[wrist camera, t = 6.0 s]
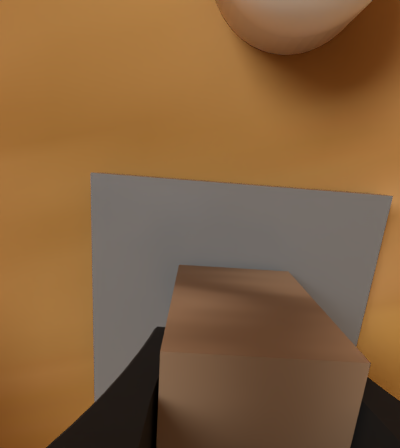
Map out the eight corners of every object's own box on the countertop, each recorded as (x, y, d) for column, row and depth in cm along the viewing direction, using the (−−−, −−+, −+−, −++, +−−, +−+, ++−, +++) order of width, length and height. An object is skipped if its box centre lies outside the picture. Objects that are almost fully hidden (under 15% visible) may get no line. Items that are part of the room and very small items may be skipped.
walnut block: (173, 359, 11) (153, 509, 6) (179, 264, 10) (160, 351, 5) (274, 365, 11) (333, 518, 6) (288, 271, 10) (370, 363, 5)
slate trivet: (101, 404, 13) (94, 419, 12) (98, 172, 10) (90, 172, 10) (326, 418, 13) (335, 434, 12) (378, 194, 11) (392, 196, 10)
